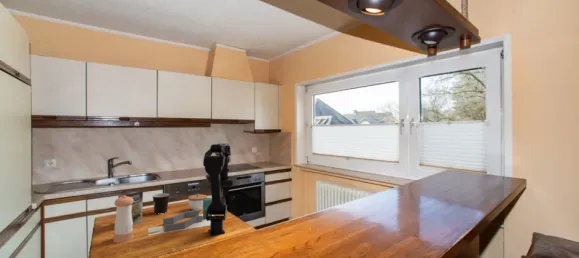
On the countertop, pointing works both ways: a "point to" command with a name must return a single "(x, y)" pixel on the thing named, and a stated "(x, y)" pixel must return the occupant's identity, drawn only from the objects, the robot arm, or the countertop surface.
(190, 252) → the countertop surface
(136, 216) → the coffee box
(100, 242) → the countertop surface
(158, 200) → the coffee mug
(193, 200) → the lidded jar
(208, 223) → the channel
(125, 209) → the pepper shaker
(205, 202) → the teal peg
